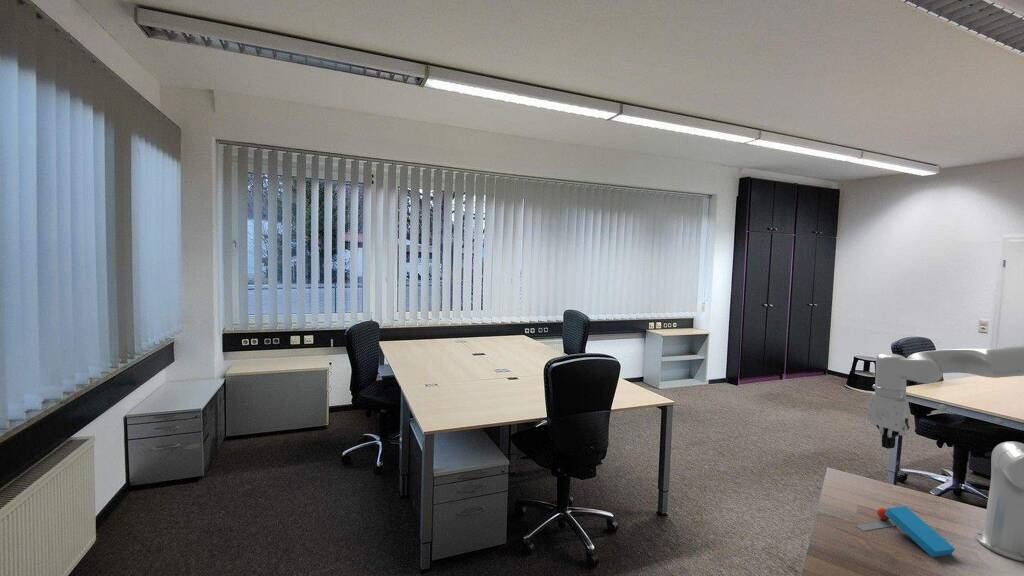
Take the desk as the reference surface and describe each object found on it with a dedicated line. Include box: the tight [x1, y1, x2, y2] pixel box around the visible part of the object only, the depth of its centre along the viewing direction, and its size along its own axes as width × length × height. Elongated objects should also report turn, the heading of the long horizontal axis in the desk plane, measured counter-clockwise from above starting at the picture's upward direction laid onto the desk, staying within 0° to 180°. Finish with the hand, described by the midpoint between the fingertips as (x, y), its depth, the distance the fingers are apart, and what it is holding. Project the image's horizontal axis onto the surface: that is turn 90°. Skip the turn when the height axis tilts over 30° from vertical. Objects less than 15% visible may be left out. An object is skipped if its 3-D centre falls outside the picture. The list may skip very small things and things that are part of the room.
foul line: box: [855, 519, 898, 532], centre depth 137 cm, size 23×2×1 cm, turn 102°
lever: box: [876, 506, 956, 558], centre depth 132 cm, size 7×7×18 cm
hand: (888, 447), depth 141 cm, fingers closed
